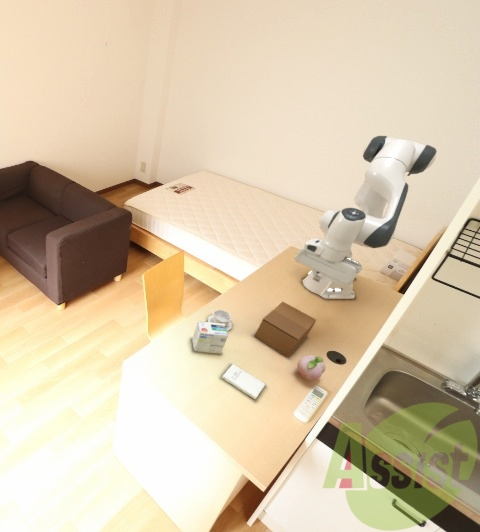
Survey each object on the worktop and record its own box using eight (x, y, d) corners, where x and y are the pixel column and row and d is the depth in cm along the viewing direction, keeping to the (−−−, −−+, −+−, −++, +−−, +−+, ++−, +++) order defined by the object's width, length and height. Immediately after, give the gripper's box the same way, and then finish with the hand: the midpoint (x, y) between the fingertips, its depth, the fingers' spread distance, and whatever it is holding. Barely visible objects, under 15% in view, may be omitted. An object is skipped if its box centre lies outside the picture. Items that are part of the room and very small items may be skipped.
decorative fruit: (298, 362, 137) (309, 344, 131) (321, 375, 132) (333, 358, 126) (288, 375, 132) (299, 357, 126) (311, 390, 127) (323, 372, 121)
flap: (282, 301, 150) (282, 301, 150) (316, 320, 142) (316, 319, 142) (272, 310, 146) (273, 309, 146) (307, 330, 137) (307, 329, 137)
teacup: (223, 335, 147) (226, 327, 144) (203, 321, 153) (205, 313, 150) (236, 325, 152) (239, 317, 149) (216, 312, 158) (218, 304, 155)
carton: (273, 318, 156) (282, 301, 150) (306, 337, 148) (317, 319, 142) (254, 336, 147) (263, 318, 141) (287, 357, 139) (298, 339, 132)
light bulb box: (217, 341, 144) (225, 322, 137) (221, 354, 138) (229, 335, 132) (191, 338, 144) (197, 320, 138) (193, 351, 139) (200, 332, 133)
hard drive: (254, 400, 123) (221, 378, 129) (264, 386, 127) (231, 365, 134) (256, 397, 122) (223, 375, 128) (265, 383, 126) (233, 362, 133)
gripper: (367, 261, 124) (348, 290, 133) (308, 236, 137) (294, 265, 145) (361, 268, 121) (342, 297, 129) (300, 242, 133) (286, 270, 142)
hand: (316, 280), depth 137 cm, fingers closed
